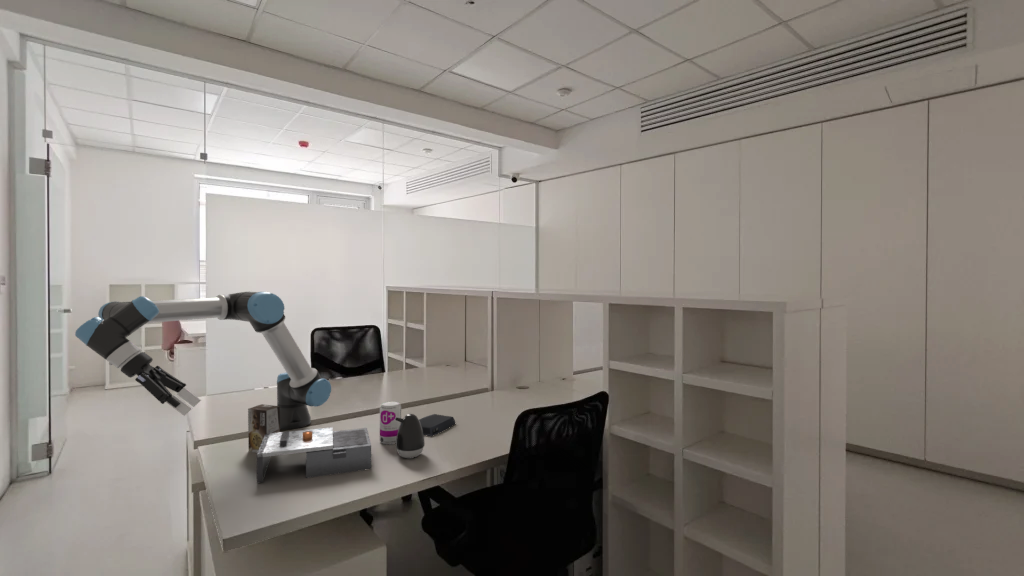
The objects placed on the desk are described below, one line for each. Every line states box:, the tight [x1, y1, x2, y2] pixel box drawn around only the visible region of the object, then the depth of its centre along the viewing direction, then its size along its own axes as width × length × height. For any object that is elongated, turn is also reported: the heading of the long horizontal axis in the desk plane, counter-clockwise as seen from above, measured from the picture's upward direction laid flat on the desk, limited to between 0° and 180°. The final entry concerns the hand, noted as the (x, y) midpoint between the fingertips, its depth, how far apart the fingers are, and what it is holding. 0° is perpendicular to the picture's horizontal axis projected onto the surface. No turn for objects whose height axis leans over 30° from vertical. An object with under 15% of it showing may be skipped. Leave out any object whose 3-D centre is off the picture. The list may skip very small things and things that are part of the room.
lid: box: [256, 426, 334, 484], centre depth 157 cm, size 22×20×11 cm
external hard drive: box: [418, 413, 456, 437], centre depth 200 cm, size 13×19×4 cm
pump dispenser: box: [395, 413, 426, 459], centre depth 168 cm, size 10×10×15 cm
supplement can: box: [379, 400, 402, 445], centre depth 183 cm, size 8×8×15 cm
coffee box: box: [247, 404, 281, 454], centre depth 172 cm, size 9×6×16 cm
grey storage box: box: [305, 427, 372, 478], centre depth 161 cm, size 20×24×8 cm
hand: (193, 407), depth 145 cm, fingers open, 10 cm apart
